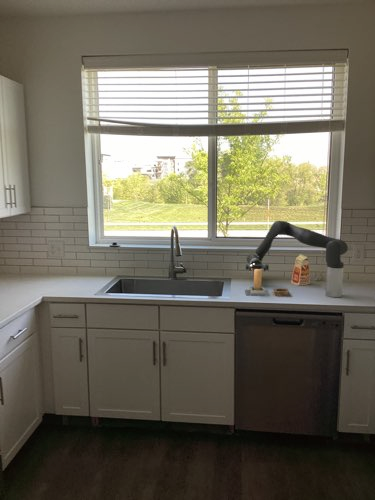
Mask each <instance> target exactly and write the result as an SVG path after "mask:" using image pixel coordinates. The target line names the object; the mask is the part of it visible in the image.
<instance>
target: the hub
mask: <svg viewBox="0 0 375 500" xmlns="http://www.w3.org/2000/svg"><path fill="white" fill-rule="evenodd" d="M249 288H250V289H244V293H245V296H246V297H247V296H248V297H271V294H270V292H269V290H268V289H267V290H266V289H265V288H264V287H263V286H261V290H254V286H250V287H249Z"/></svg>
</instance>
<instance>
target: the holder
mask: <svg viewBox="0 0 375 500" xmlns="http://www.w3.org/2000/svg"><path fill="white" fill-rule="evenodd" d="M271 293H272V296H273V297H279V298H280V297H282V298H283V297H284V298H288V297H289V298H291V297H292V296H291V293H290V290H289V289H288V288H281V287H280V288H278V287H276V288H275V287H274V288H273V291H271Z"/></svg>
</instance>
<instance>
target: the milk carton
mask: <svg viewBox="0 0 375 500" xmlns="http://www.w3.org/2000/svg"><path fill="white" fill-rule="evenodd" d="M291 276H292V277H291V281H290V283H291V284H294V285H296V286H305V285H306V286H307V285H309V284H310V281H311V279H310V278H311V277H310V263H309V259H308V256H306V255H303V254H302V253H299V255H298V256H296V259H295V262H294V267H293V270H292V275H291Z"/></svg>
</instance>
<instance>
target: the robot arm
mask: <svg viewBox="0 0 375 500" xmlns="http://www.w3.org/2000/svg"><path fill="white" fill-rule="evenodd" d="M278 236H288V237H292V238H294V239H295V240H297V241H298V242H299V243H302V244H303V245H307V246H310V247H313V248H315V247H316V248H323V249H325V263H326V276H325V277H326V279H325V294H324V295H325V296H327V297H331V298H342V297H343V281H344V268H345V267H344V266H345V265H344V262H342V261H341V256H342V255H344V254H346V253H347V252H348V250H349V248H348V247H349V246H348V244H347V243H346V242H345V241H344V240H343V239H339V238H334V237H331V236H330V237H329V236H326V235H325V234H322V233H319V232H317V231H314V230H310V229H308V228H304V227H300V226H296V225H294V224H292V223H290V222H288V221H285V220H276V221H274V222H273V223H272V225H271V226H270V228H269V230H268V232H267V234H266V235H265V237H264V239H263V241H261V243H260V245H259V246H258V247H257V248H255V253H249V254H248V255H247V256H246V264H245V270H246V271H247V270H248V271H250V272H251V271H253V272H254V270H255V269H261V270H262V271H263V272H266V271H269V267H270V266H269V264H262V261H263V259H264V257H265V256H266V255H267V253H268V252H269V250H270V249H271V247H272V244H273V241H274V239H276V238H277V237H278Z"/></svg>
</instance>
